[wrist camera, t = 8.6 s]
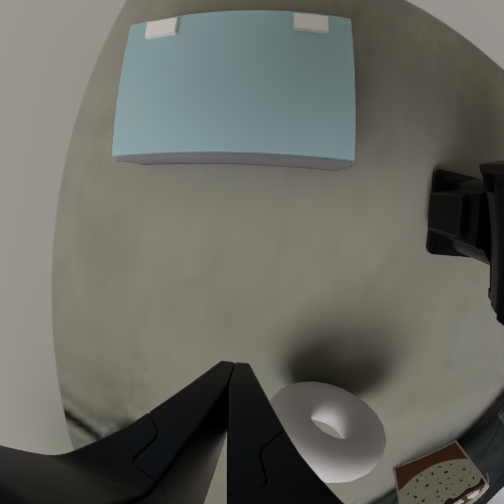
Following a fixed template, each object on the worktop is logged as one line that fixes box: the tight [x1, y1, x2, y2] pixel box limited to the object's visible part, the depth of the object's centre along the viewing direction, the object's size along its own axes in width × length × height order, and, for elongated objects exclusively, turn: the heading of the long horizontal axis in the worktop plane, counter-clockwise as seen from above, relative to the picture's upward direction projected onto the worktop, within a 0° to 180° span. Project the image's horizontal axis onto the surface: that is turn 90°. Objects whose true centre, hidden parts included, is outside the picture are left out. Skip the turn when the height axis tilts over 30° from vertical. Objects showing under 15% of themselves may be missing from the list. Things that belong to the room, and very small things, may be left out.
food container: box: [393, 440, 489, 504], centre depth 20 cm, size 12×6×10 cm, turn 107°
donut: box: [269, 381, 386, 483], centre depth 18 cm, size 10×4×10 cm, turn 69°
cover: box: [112, 10, 356, 161], centre depth 14 cm, size 14×9×1 cm
